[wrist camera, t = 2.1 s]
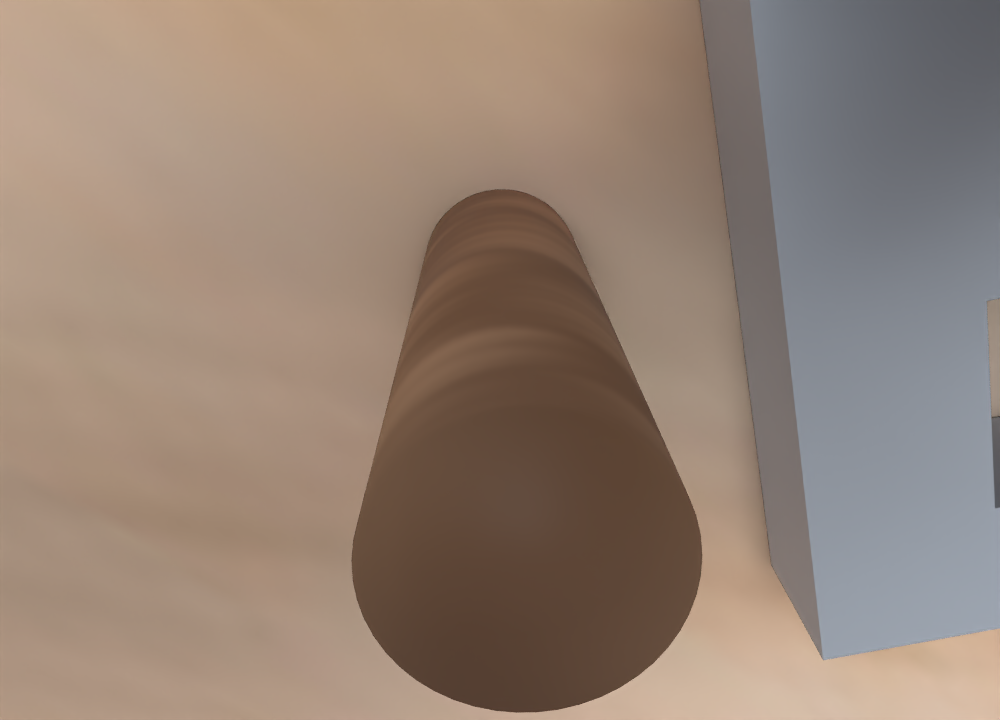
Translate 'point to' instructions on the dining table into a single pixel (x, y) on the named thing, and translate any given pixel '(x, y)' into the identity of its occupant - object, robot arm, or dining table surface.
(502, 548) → the peg
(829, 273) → the socket station
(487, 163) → the dining table surface
